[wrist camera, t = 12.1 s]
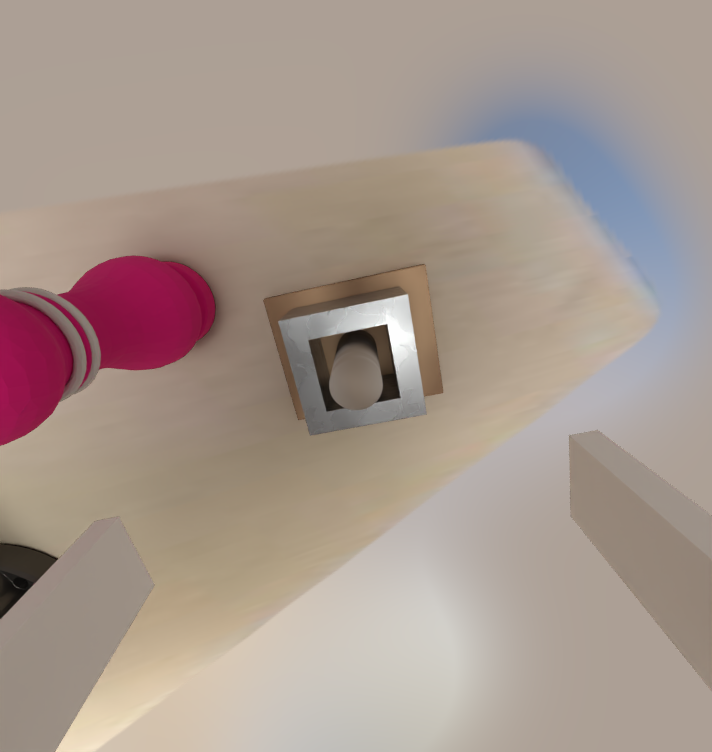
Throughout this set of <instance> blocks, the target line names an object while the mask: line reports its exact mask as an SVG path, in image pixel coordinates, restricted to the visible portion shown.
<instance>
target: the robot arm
mask: <svg viewBox="0 0 712 752" xmlns="http://www.w3.org/2000/svg"><path fill="white" fill-rule="evenodd" d="M569 457H570V510H571V517H572V518H573V520H574V521H575V522H576V523H577V525H578V526H579V527H580V528H581V529H582V531H583V532H584V533H585V535H586V536H587V537H588V538H589V539H590V541H591V542H592V543H593V545H594V546H595V547H596V548H597V549H598V551H599V552H600V553H601V554H602V556H603V557H604V558H605V559H606V561H607V562H608V563H609V564H610V566H611V567H612V568H613V569H614V570H615V572H616V573H617V574H618V576H619V577H620V578H621V579H622V580H623V582H624V583H625V584H626V585H627V587H628V588H629V589H630V590H631V592H632V593H633V594H634V595H635V596H636V598H637V599H638V600H639V602H640V603H641V604H642V605H643V606H644V608H645V609H646V610H647V611H648V613H649V614H650V615H651V617H652V618H653V619H654V620H655V621H656V623H657V624H658V625H659V626H660V628H661V629H662V630H663V631H664V633H665V634H666V635H667V636H668V638H669V639H670V640H671V641H672V643H673V644H674V645H675V646H676V647H677V649H678V650H679V651H680V653H681V654H682V655H683V656H684V658H685V659H686V660H687V661H688V662H689V664H690V665H691V666H692V667H693V669H694V670H695V671H696V672H697V674H698V675H699V676H700V677H701V679H702V680H703V681H704V682H705V684H706V685H707V686H708V687H709V688H710V690H711V691H712V515H711V514H709V513H708V512H707V511H706V510H704V509H703V508H701V507H700V506H698V505H697V504H696V503H695V502H693V501H692V500H691V499H689V498H688V497H687V496H685V495H684V494H683V493H681V492H680V491H679V490H677V489H676V488H674V487H673V486H672V485H671V484H669V483H668V482H667V481H665V480H664V479H663V478H661V477H660V476H659V475H657V474H656V473H655V472H653V471H652V470H651V469H649V468H648V467H647V466H645V465H644V464H643V463H641V462H640V461H638V460H637V459H636V458H634V457H633V456H632V455H631V454H629V453H628V452H627V451H625V450H624V449H622V448H621V447H620V446H618V445H617V444H616V443H614V442H613V441H612V440H610V439H609V438H608V437H606V436H605V435H604V434H602V433H601V432H600V431H598V430H595V431H590V432H585V433H579V434H574V435H569ZM153 587H154V583H153V581H152V579H151V577H150V575H149V573H148V571H147V569H146V567H145V565H144V564H143V562H142V560H141V558H140V556H139V554H138V552H137V550H136V548H135V546H134V544H133V542H132V540H131V539H130V537H129V535H128V533H127V531H126V529H125V527H124V525H123V523H122V521H121V519H120V517H114V518H108V519H102V520H97V521H94V522H93V523H92V524H91V526H90V527H89V528H88V529H87V530H86V531H85V532H84V533H83V534H82V535H81V536H80V537H79V538H78V539H77V540H76V541H75V542H74V543H73V544H72V545H71V546H70V547H69V548H68V549H67V551H66V552H65V553H64V554H63V555H62V556H61V557H60V558H59V559H58V560H55V559H54V558H52V557H50V556H47V555H45V554H43V553H40V552H38V551H35V550H31V549H28V548H24V547H19V546H12V545H0V752H55V751H56V749H57V748H58V746H59V744H60V743H61V741H62V739H63V738H64V736H65V734H66V732H67V731H68V729H69V727H70V726H71V724H72V722H73V721H74V719H75V717H76V716H77V714H78V712H79V711H80V709H81V707H82V706H83V704H84V702H85V701H86V699H87V697H88V696H89V694H90V692H91V691H92V689H93V687H94V686H95V684H96V682H97V681H98V679H99V677H100V676H101V674H102V672H103V671H104V669H105V667H106V666H107V664H108V662H109V661H110V659H111V657H112V656H113V654H114V652H115V651H116V649H117V647H118V646H119V644H120V642H121V641H122V639H123V637H124V636H125V634H126V632H127V631H128V629H129V627H130V626H131V624H132V622H133V621H134V619H135V617H136V616H137V614H138V612H139V611H140V609H141V607H142V606H143V604H144V602H145V600H146V599H147V597H148V595H149V594H150V592H151V590H152V589H153Z"/></svg>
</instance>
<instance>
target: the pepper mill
mask: <svg viewBox="0 0 712 752" xmlns="http://www.w3.org/2000/svg"><path fill="white" fill-rule="evenodd" d="M214 317H215V302H214V298H213V295H212V292H211V290H210V288H209V286H208V285H207V283H206V282H205V281H204V279H203V278H202V277H201V276H200V275H199V274H197V273H196V272H195V271H193V270H192V269H190V268H189V267H187V266H185V265H182V264H179V263H175V262H160V261H158V260H156V259H152V258H148V257H144V256H125V257H119V258H115V259H110V260H108V261H105V262H103V263H101V264H98V265H97V266H95V267H94V268H92V269H91V270H89V271H87V272H86V273H85V274H84V275H83V276H82V277H81V278H80V280H79V281H78V282H77V283H76V284H75V285H74V286H73V288H72V289H71V290H70V291H69V292H66V293H62V294H58V295H56V294H54V293H52V292H49V291H46V290H43V289H38V288H30V287H23V288H14V289H10V290H0V446H1V445H4V444H7V443H9V442H11V441H13V440H16V439H18V438H20V437H22V436H25V435H26V434H28V433H29V432H31V431H32V430H34V429H35V428H37V427H38V426H39V425H40V424H41V423H42V422H44V421H45V420H46V419H47V418H48V417H49V416H50V415H51V414H52V413H53V411H54V410H55V408H56V406H57V405H58V403H59V402H61V401H63V400H65V399H66V398H68V397H70V396H71V395H73V394H76V393H78V392H80V391H82V390H84V389H85V388H86V387H87V386H89V385H90V384H91V383H92V381H93V380H94V379H95V377H96V375H97V373H98V371H99V369H102V368H116V369H126V370H146V369H155V368H160V367H162V366H165V365H168V364H170V363H173V362H175V361H177V360H179V359H180V358H182V357H184V356H185V355H186V354H187V353H188V352H189V351H190V350H191V349H192V347H193V346H194V345H195V343H196V341H197V340H199V339H201V338H202V337H203V336H204V335H205V334H206V333H207V332H208V331H209V329H210V328H211V326H212V324H213V321H214Z"/></svg>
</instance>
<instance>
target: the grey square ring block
mask: <svg viewBox="0 0 712 752" xmlns="http://www.w3.org/2000/svg"><path fill="white" fill-rule="evenodd" d="M278 323H279V326H280V330H281V334H282V337H283V341H284V344H285V348H286V351H287V355H288V358H289V362H290V366H291V369H292V373H293V376H294V380H295V383H296V387H297V391H298V394H299V398H300V401H301V405H302V408H303V412H304V415H305V419H306V423H307V426H308V430H309V433H310V435H315V434H321V433H326V432H332V431H337V430H343V429H348V428H354V427H359V426H365V425H370V424H376V423H381V422H387V421H392V420H398V419H403V418H409V417H415V416H420V415H426V414H427V413H426V407H425V400H424V394H423V388H422V381H421V375H420V369H419V362H418V356H417V350H416V343H415V337H414V331H413V324H412V318H411V312H410V305H409V299H408V294H407V293H406V292H405V291H404V290H403V289H402V288H401V287H400V286H397V287H392V288H387V289H383V290H378V291H373V292H368V293H363V294H359V295H354V296H349V297H344V298H340V299H335V300H330V301H325V302H321V303H316V304H311V305H306V306H302V307H297V308H292V309H291V310H290V311H289V312H288V313H287V314H286V315H285V316H283V317H282V318H281V319H280V320H279V321H278ZM380 325H385V327H386V332H387V338H388V343H389V349H390V354H391V360H392V365H393V371H394V373H392V374H387V375H382V382H383V388H382V393H381V395H380V397H379V399H378V400H377V401H376V402H375V403H374V404H373V405H372V406H370V407H368V408H366V409H362V410H350V409H346V408H344V407H342V406H340V405H339V404H338V403H337V402H336V401H335V400H334V399H333V397H332V395H331V393H330V389H329V381H330V375H329V371H328V367H327V363H326V359H325V355H324V351H323V347H322V343H321V339H320V337H325V336H330V335H335V334H340V333H345V332H350V331H355V330H360V329H365V328H370V327H375V326H380Z"/></svg>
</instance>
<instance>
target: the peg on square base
mask: <svg viewBox="0 0 712 752" xmlns="http://www.w3.org/2000/svg"><path fill="white" fill-rule="evenodd" d="M397 286H400V287H401V288H402V289H403V290H404V291H405V292H406V293H407V294H408V299H409V305H410V312H411V318H412V324H413V331H414V337H415V343H416V350H417V356H418V362H419V369H420V375H421V381H422V388H423V394H424V396H429V395H435V394H440V393H443V387H442V380H441V373H440V365H439V358H438V351H437V344H436V337H435V330H434V323H433V316H432V309H431V302H430V294H429V287H428V280H427V273H426V266H425V265H424V264H422V265H417V266H413V267H408V268H404V269H399V270H394V271H390V272H385V273H380V274H376V275H371V276H367V277H362V278H357V279H353V280H348V281H343V282H339V283H334V284H330V285H325V286H320V287H316V288H311V289H306V290H302V291H297V292H293V293H288V294H283V295H279V296H274V297H269V298H266V299H264V300H263V301H264V304H265V308H266V311H267V315H268V318H269V322H270V325H271V328H272V332H273V335H274V339H275V342H276V346H277V349H278V352H279V356H280V359H281V363H282V366H283V370H284V373H285V376H286V380H287V383H288V387H289V390H290V394H291V397H292V400H293V404H294V407H295V411H296V414H297V418H298V420H302V419H305V415H304V412H303V408H302V405H301V401H300V398H299V394H298V391H297V387H296V383H295V380H294V376H293V373H292V369H291V366H290V362H289V358H288V355H287V351H286V348H285V344H284V341H283V337H282V334H281V330H280V326H279V323H278V321H279V320H280V319H281V318H282V317H283V316H285V315H286V314H287V313H288V312H289V311H290V310H291V309H292V308H297V307H302V306H306V305H311V304H316V303H321V302H325V301H330V300H335V299H340V298H344V297H349V296H354V295H359V294H363V293H368V292H373V291H378V290H383V289H387V288H392V287H397ZM320 339H321V343H322V347H323V351H324V355H325V359H326V363H327V367H328V371H329V375H330V381H329V389H330V393H331V395H332V397H333V399H334V400H335V401H336V402H337V403H338V404H339V405H340V406H342V407H344V408H346V409H350V410H362V409H366V408H368V407H370V406H372V405H373V404H374V403H375V402H376V401H377V400H378V399H379V397H380V395H381V393H382V388H383V382H382V375H387V374H392V373H394V371H393V365H392V360H391V354H390V349H389V343H388V338H387V332H386V327H385V325H380V326H375V327H370V328H365V329H360V330H355V331H350V332H345V333H340V334H335V335H330V336H325V337H320Z"/></svg>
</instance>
